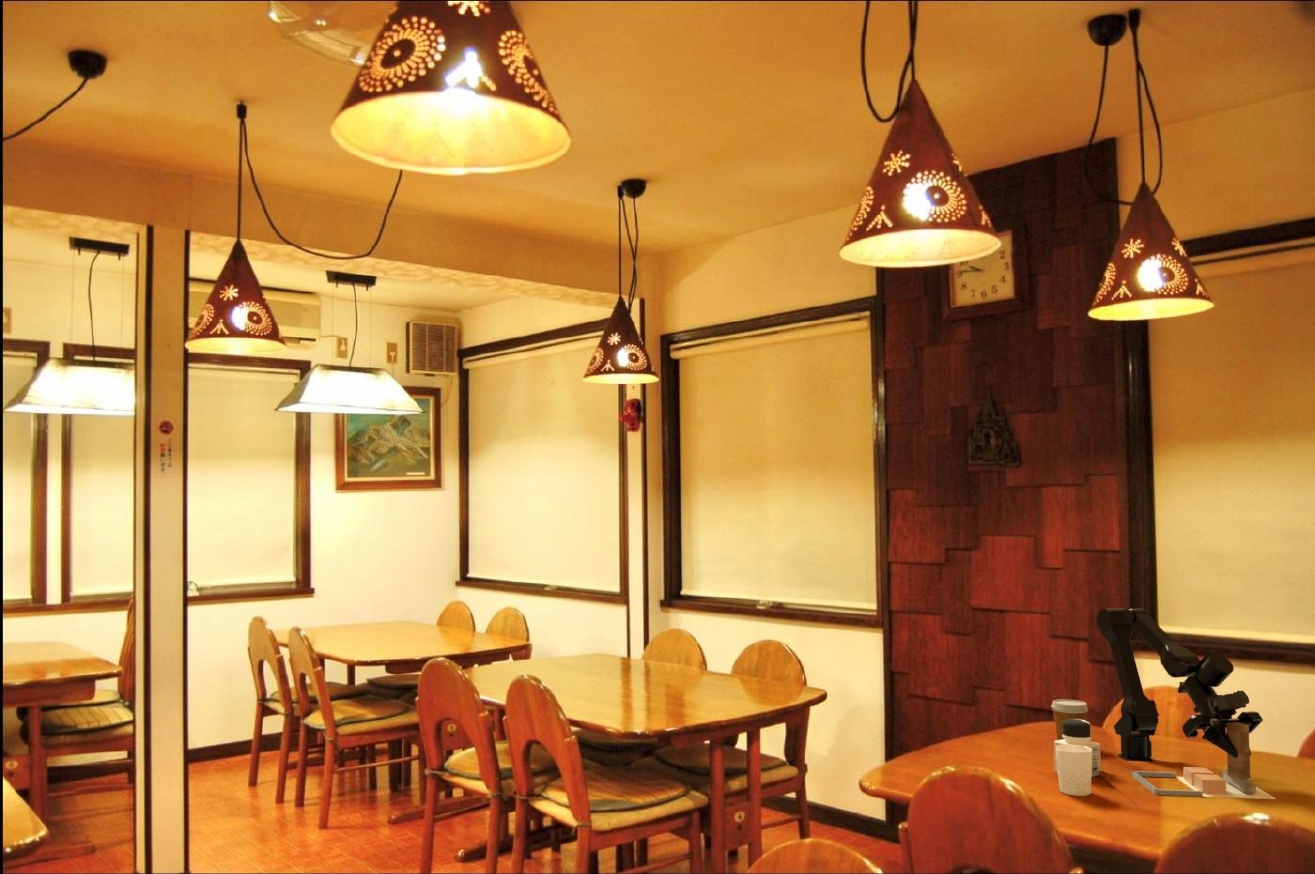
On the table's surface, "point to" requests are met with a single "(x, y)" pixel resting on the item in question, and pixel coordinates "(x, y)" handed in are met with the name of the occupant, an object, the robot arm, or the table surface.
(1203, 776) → the tile
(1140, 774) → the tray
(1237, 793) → the board
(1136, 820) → the table surface
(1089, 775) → the white cup
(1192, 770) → the tile
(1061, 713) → the disposable coffee cup
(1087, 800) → the table surface
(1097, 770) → the container
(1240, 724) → the upright brown post
